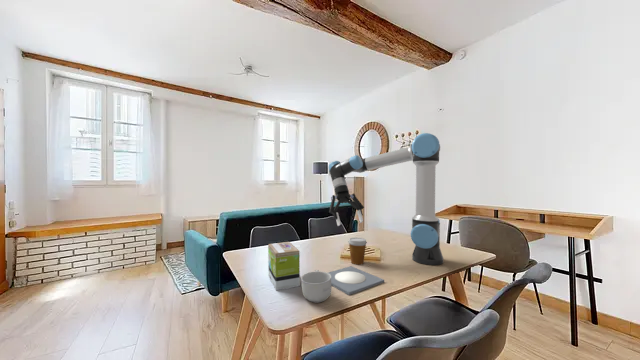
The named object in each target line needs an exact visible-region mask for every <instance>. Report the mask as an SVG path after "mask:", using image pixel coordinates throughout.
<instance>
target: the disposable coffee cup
mask: <svg viewBox="0 0 640 360" xmlns="http://www.w3.org/2000/svg"><path fill="white" fill-rule="evenodd" d="M367 244H368V242H367V239H365V238H363V237H351V238H350V237H349V239H348V246H349V253H350V256H349V257H350V263H351V264H352V265H358V266H360V265H363V264H364V261H365V254H366V247H367V246H366V245H367Z"/></svg>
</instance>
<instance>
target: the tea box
mask: <svg viewBox="0 0 640 360" xmlns="http://www.w3.org/2000/svg"><path fill="white" fill-rule="evenodd" d="M267 250H268V253H267V254H268V257H267V258H268V261H267V263H268V278H269V280H270V281H271V284H272V285H273V287H274V289H275V290H276V291H282V290H286V289H291V288H296V287H299V286H300V281H301V278H300V274H301V273H300V272H301V271H300V264H301V263H300V250H299V248H297V247H296V246H295V245H294V244H292V243H291V241H284V242H283V241H282V242H277V243H276V242H275V243H268V247H267Z"/></svg>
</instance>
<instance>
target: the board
mask: <svg viewBox="0 0 640 360" xmlns="http://www.w3.org/2000/svg"><path fill="white" fill-rule="evenodd" d="M327 273H329V274H330V275H331V287H333V288H336V289H337V290H339V291H340V292H342V293H344V294H345V295H348V296H350V295H353V294H356V293H359V292H361V291H364V290H368V289H370V288H373V287H375V286H378V285H381V284H383V283H385V279H384V278H382V277H379V276H377V275H373V274H371V273H370V272H366V271H364V270H361V269H360V268H357V267H354V266H352V265H350V266H347V267H343V268H340V269H336V270H332V271H329V272H327Z"/></svg>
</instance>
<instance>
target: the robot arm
mask: <svg viewBox="0 0 640 360" xmlns="http://www.w3.org/2000/svg"><path fill="white" fill-rule="evenodd" d="M440 151H441V144H440V140H439V139H438V137H437V136H436V135H434V134H433V133H428V132H424V133H421V134H418V135H417V136H416V137H414V138H413V140H412V142H411V144H410V145H409V146H407V147H404V148H400V149H397V150H393V151H388V152H384V153H381V154H377V155H373V156H368V157H365V158H361V156H359V155H358V154H356V155H353V156H351V157H348V158H347V159H345V160H343V161H342V162H340V161H339V160H334V161H331V162H330V163H329V164H328V172H329V175H330V178H331V182H332V185H333V189H334V193H335V194H333V195H332V196H331V197H330V199H331V201H330V207H329V210H328V213H329V214H332V216H333V218H334V220H336V225H337V227H339V226H340V225H342V223H341V219H340V216H339V215H340V214H339V212H337V211H338V209H339V207H340V205H341V204H349V205H350V206H351V207H353V208H354V209H355V210H356V214H357V217H358V220H359V223H360V224H361V223H364V218H363V216H364V215H363V211H362V210H363V209H364V208H365V206H364V205H363V204H362V203H361V202H360V201H361V200H359V198H357V196H356V194H355V193H352V194H350V192H349V191H350V190H349V188H348V185H347V184H348V183H347V181H346V177H345V176H347V175H349V174H351V173H359V174H360V173H365V172H368V171H371V170H376V169H379V168H380V169H381V168H384V167H388V166H393V165H397V164H403V163H406V162H412V164H414V165H415V166H416V167H415V171H416V172H415V215H414V216H412V218H411V219H412V220H411V225H412V226H411V231H410V237H411V238H410V239H411V241H412V242H413V244H414V245H415V246H414V249H413V251H412V256H411V258H412V260H413V261H414V262H416V263H419V264H422V265H426V266H427V265H429V266H440V265H443V264H444V256H443V253H442V250H441V245H440V244H441V243H440V242H441V241H440V240H441V238H440V233H441V222H440V218H438V217H436V169H437V168H436V166H437V165H438V164H439V163H440ZM336 200H337V203H336V205H335V202H336ZM442 263H443V264H442Z"/></svg>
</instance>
